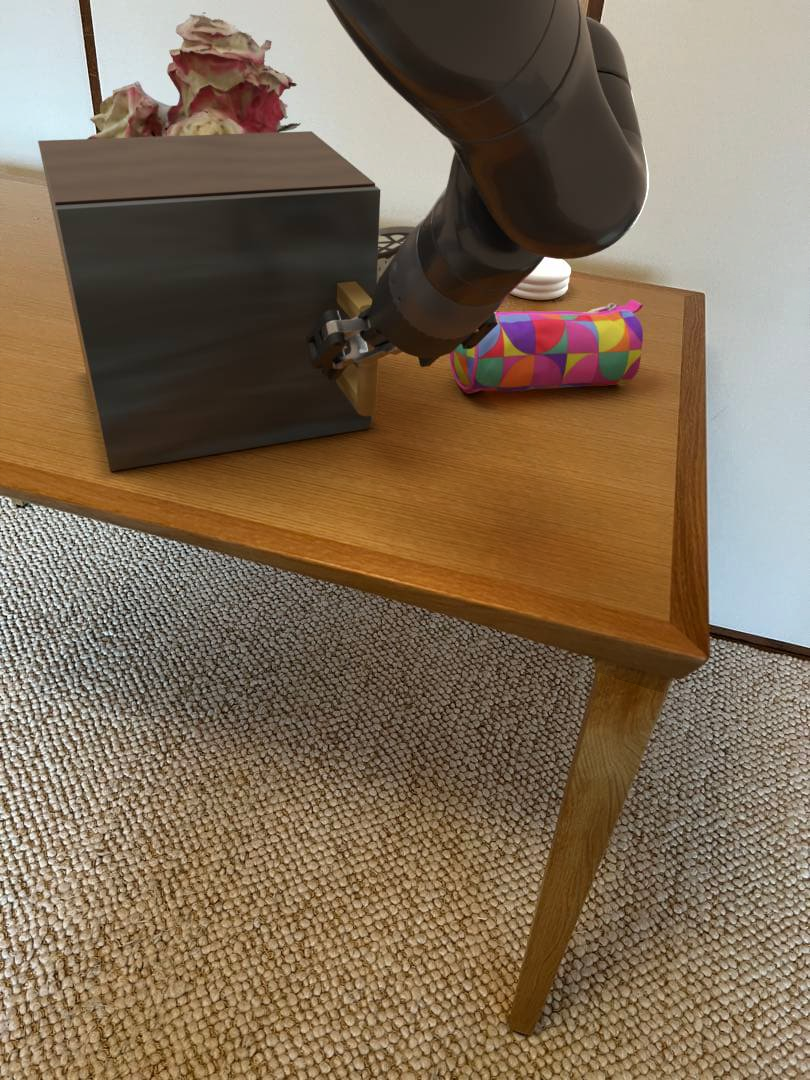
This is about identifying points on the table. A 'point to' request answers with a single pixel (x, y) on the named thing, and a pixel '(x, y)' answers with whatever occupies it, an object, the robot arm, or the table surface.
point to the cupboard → (187, 173)
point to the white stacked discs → (545, 281)
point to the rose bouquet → (204, 89)
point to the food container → (390, 245)
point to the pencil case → (553, 350)
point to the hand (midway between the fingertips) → (376, 362)
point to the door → (220, 317)
